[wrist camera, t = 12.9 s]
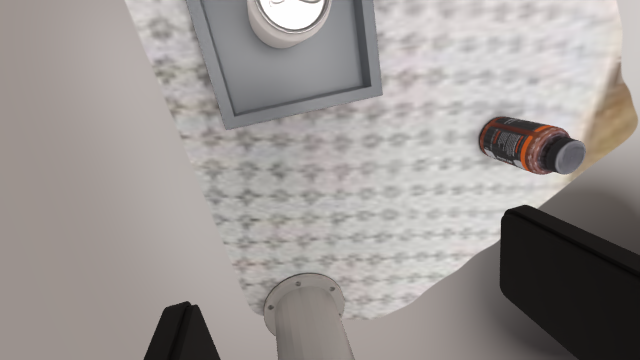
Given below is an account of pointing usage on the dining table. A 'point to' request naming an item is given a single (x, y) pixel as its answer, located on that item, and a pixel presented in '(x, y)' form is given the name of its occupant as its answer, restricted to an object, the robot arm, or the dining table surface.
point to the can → (286, 20)
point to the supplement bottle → (532, 146)
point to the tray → (286, 62)
